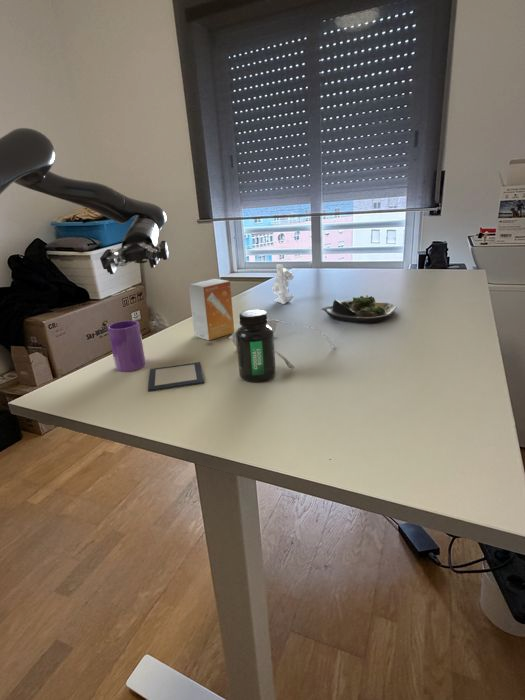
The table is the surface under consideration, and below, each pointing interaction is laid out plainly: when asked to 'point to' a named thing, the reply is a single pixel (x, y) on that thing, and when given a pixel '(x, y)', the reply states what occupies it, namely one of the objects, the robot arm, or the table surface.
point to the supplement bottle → (255, 347)
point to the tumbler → (127, 345)
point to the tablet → (175, 376)
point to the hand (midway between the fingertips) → (131, 266)
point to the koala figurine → (282, 284)
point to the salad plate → (360, 310)
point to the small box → (211, 308)
